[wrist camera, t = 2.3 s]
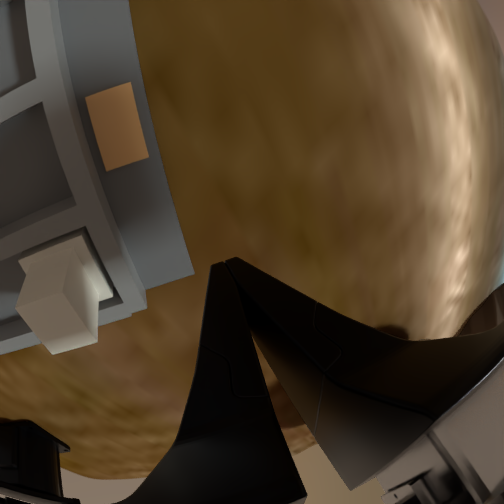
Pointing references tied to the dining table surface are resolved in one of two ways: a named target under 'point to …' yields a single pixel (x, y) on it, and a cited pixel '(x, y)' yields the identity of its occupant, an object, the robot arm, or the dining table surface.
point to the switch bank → (80, 154)
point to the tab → (63, 290)
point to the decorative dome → (487, 314)
